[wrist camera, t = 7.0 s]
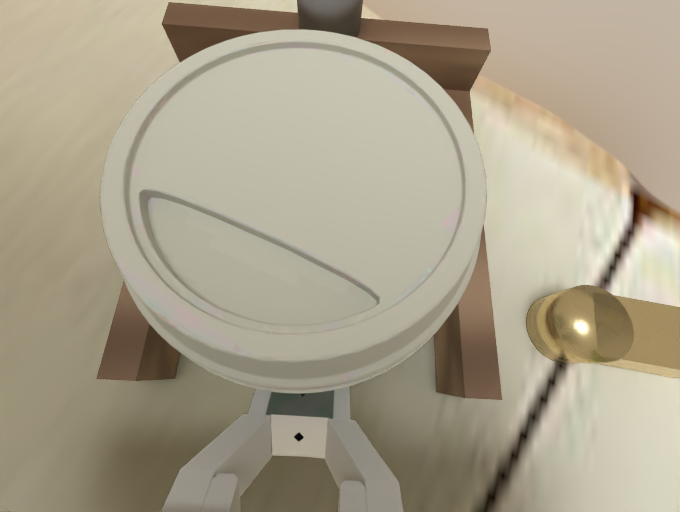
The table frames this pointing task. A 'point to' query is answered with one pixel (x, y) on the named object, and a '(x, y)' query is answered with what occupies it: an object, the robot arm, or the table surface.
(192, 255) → the coffee cup
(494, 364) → the brown wooden u-shaped frame
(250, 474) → the robot arm
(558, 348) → the brass knob block
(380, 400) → the table surface
